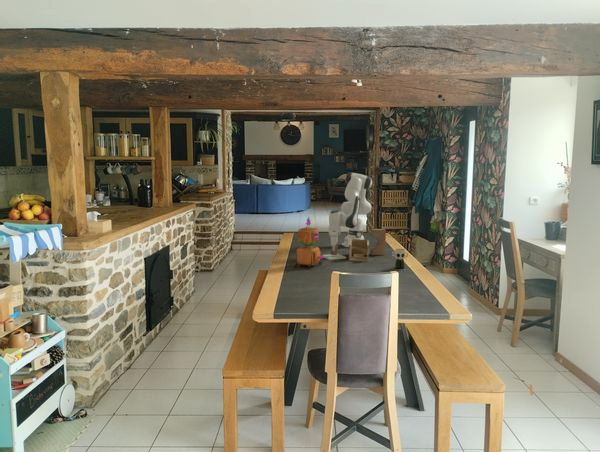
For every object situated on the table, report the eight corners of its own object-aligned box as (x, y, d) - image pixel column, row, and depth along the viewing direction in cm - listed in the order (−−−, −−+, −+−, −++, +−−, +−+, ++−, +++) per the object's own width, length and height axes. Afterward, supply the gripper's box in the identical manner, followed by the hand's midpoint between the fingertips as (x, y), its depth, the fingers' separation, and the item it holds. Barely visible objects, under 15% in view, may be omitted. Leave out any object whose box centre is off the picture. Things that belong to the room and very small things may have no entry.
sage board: (322, 256, 381) (322, 255, 381) (338, 255, 386) (338, 253, 385) (329, 259, 368) (329, 258, 368) (346, 258, 373) (346, 257, 372)
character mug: (392, 268, 339) (392, 250, 337) (391, 266, 346) (391, 248, 344) (408, 269, 338) (409, 250, 336) (407, 267, 345) (407, 248, 343)
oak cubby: (350, 254, 391) (350, 239, 390) (368, 254, 389) (368, 239, 388) (348, 260, 365) (349, 244, 364) (368, 261, 363) (368, 245, 362)
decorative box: (330, 265, 350) (330, 215, 345) (316, 270, 331) (317, 218, 327) (306, 262, 359) (306, 214, 354) (292, 267, 340) (292, 217, 335)
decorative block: (371, 255, 388) (371, 229, 385) (370, 253, 394) (370, 228, 391) (385, 255, 388) (386, 229, 385) (384, 253, 393) (384, 228, 391)
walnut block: (331, 254, 379) (331, 242, 378) (337, 254, 378) (337, 242, 377) (331, 255, 375) (331, 243, 373) (337, 255, 374) (337, 243, 373)
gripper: (331, 229, 385) (331, 247, 387) (329, 233, 365) (329, 252, 367) (339, 230, 384) (339, 247, 386) (337, 233, 364) (337, 252, 366)
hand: (334, 249), depth 376 cm, fingers closed on walnut block, 4 cm apart
